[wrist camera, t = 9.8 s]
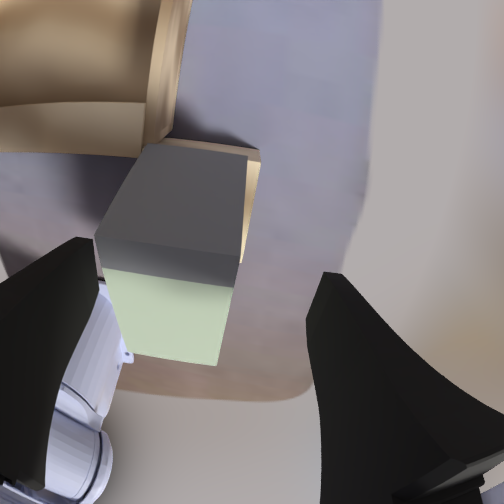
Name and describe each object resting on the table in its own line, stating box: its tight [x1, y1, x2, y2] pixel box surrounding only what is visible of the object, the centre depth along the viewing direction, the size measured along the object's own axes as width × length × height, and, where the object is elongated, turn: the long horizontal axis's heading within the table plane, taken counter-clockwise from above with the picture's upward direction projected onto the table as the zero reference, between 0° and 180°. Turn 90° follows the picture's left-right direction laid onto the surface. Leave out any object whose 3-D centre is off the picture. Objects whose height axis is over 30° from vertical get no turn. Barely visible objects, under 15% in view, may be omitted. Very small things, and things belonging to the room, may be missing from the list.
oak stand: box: [142, 137, 261, 263], centre depth 17 cm, size 6×6×2 cm
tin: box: [94, 143, 248, 366], centre depth 14 cm, size 8×4×6 cm, turn 170°
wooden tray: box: [0, 0, 193, 158], centre depth 10 cm, size 15×14×4 cm
